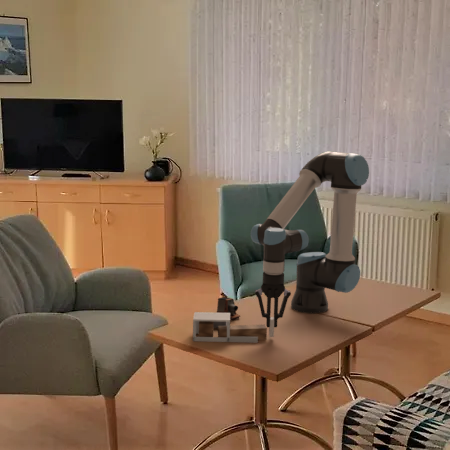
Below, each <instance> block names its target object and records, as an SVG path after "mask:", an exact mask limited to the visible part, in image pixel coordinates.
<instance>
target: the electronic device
mask: <svg viewBox="0 0 450 450" xmlns="http://www.w3.org/2000/svg"><path fill="white" fill-rule="evenodd" d="M235 304H236V303H235V299H234V298H231V297H223V296H222V297H219V298H218V299H217V309H216V313H230V321H234V320H235V321H236V320H238V319H239V318H240V317H241V314H238V313H237V311H238V309H239V307H238V306H237V305H235Z"/></svg>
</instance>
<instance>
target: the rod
mask: <svg viewBox="0 0 450 450" xmlns="http://www.w3.org/2000/svg"><path fill="white" fill-rule="evenodd" d="M267 328H268V327H267V326H266V323H265V324H243V325H242V324H241V325H240V324H239V325H238V324H237V325H236V324H235V325H230V336H246V337H258V341H260V340H261V341H262V340H263V341H264V340H267V336H268V335H267V333H268V332H267V330H268V329H267ZM217 337H227V326H218V328H217Z"/></svg>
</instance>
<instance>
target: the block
mask: <svg viewBox="0 0 450 450" xmlns="http://www.w3.org/2000/svg"><path fill="white" fill-rule="evenodd" d="M213 323H214V321H199V334H198V337H214V328H213Z"/></svg>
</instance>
